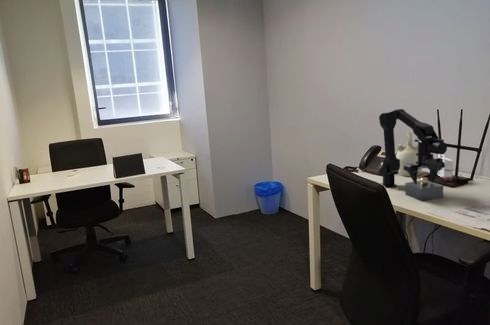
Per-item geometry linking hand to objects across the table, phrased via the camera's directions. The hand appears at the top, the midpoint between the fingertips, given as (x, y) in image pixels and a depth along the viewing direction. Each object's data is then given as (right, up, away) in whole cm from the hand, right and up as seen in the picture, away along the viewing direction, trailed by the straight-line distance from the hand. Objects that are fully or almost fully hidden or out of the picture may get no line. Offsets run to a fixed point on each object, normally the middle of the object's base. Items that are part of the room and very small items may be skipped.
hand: (423, 183), depth 190 cm
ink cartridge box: (+23, 0, +26) cm, 35 cm away
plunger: (0, -5, +1) cm, 5 cm away
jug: (+11, +3, +44) cm, 45 cm away
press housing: (+1, -6, +1) cm, 6 cm away
